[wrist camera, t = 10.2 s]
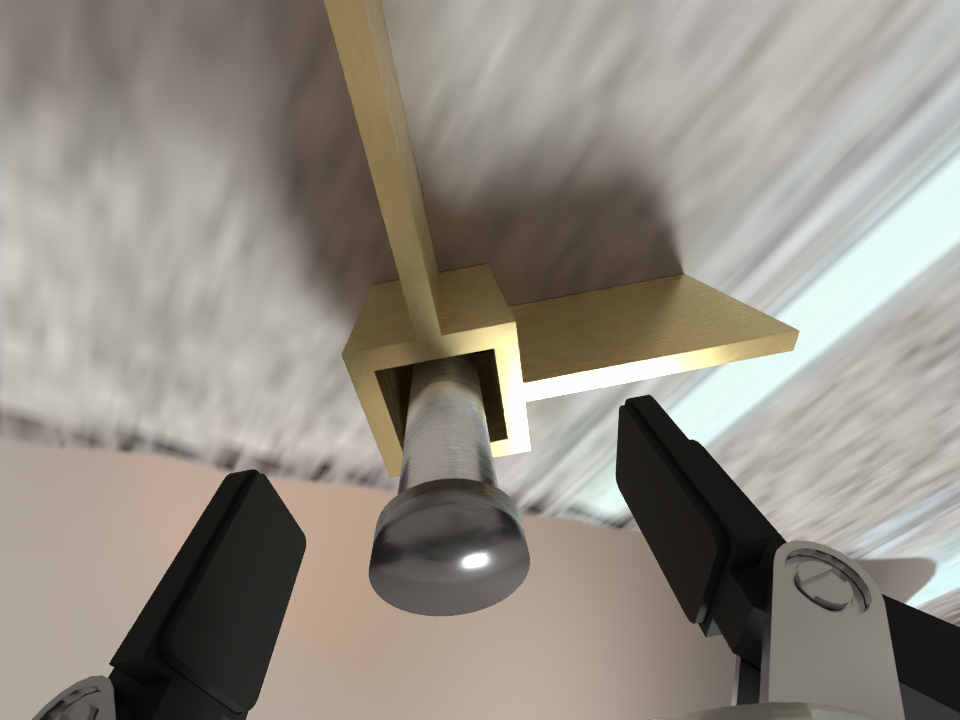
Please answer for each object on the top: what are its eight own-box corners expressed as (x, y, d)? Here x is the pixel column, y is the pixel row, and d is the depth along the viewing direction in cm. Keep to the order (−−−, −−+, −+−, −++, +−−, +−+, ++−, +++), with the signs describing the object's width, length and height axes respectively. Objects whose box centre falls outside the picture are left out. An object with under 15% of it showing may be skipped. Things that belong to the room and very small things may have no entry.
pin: (402, 301, 18) (345, 537, 7) (470, 289, 18) (521, 504, 7) (419, 360, 20) (393, 627, 9) (481, 348, 20) (536, 600, 9)
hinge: (286, 7, 13) (153, -121, 7) (727, -69, 13) (980, -258, 7) (403, 381, 21) (390, 477, 15) (677, 329, 21) (777, 402, 15)
